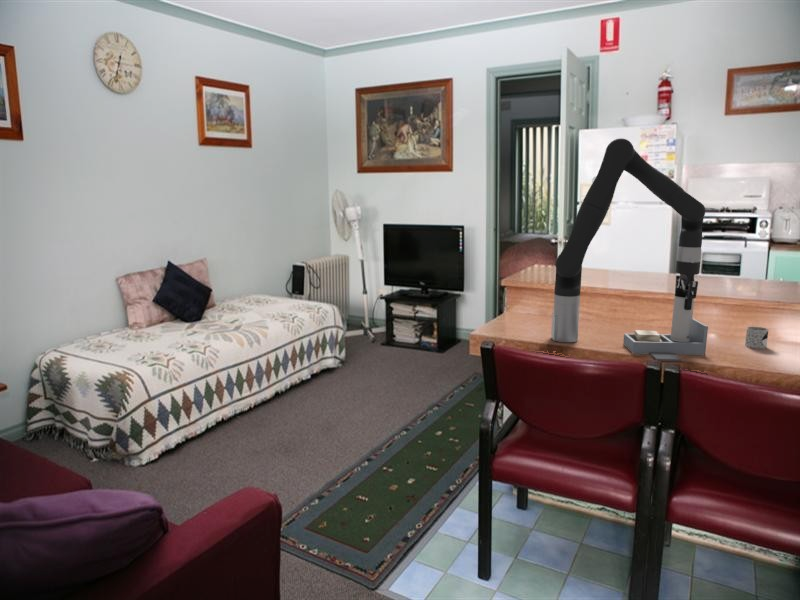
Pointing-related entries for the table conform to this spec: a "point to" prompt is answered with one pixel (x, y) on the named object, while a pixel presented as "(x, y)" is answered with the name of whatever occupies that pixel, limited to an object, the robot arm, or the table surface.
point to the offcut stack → (647, 336)
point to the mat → (665, 356)
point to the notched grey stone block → (756, 337)
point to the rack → (667, 346)
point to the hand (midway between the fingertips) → (683, 307)
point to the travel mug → (681, 318)
